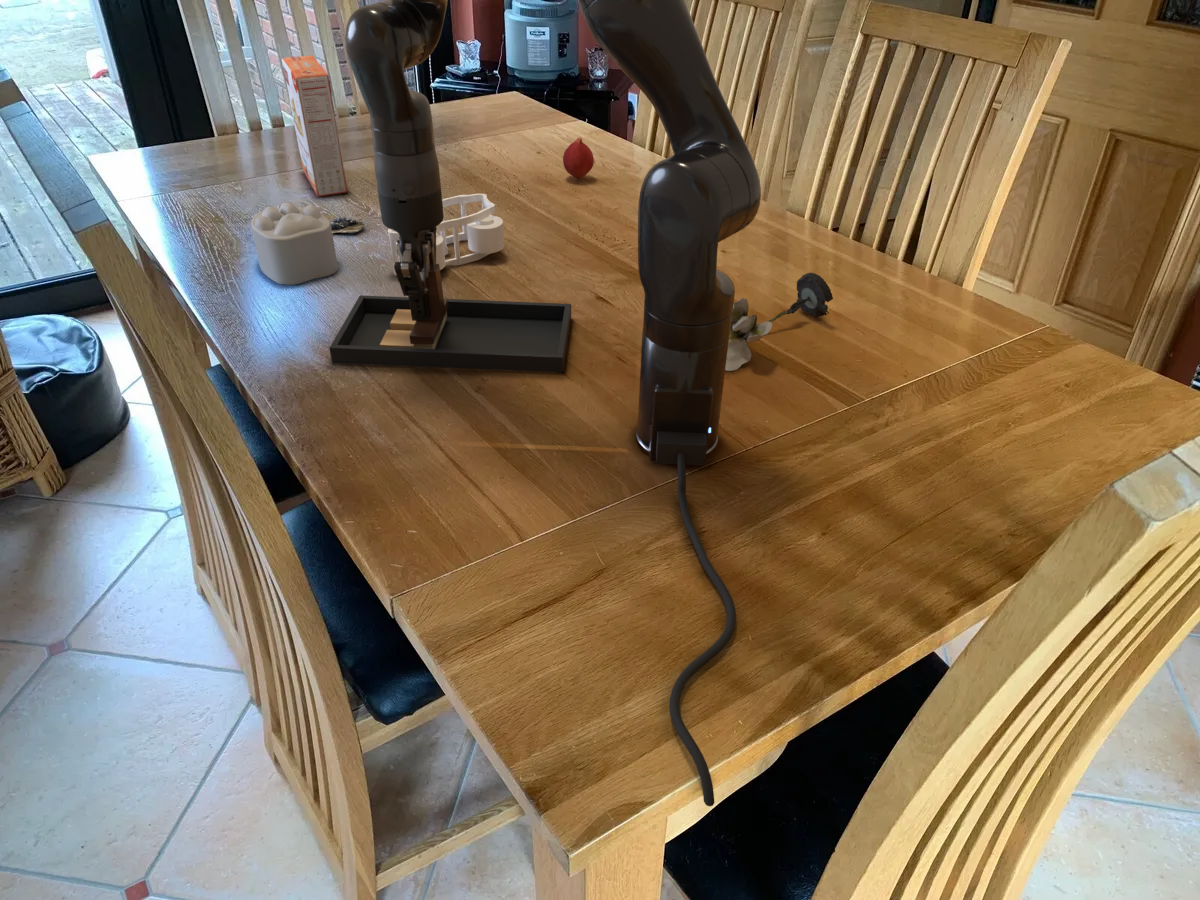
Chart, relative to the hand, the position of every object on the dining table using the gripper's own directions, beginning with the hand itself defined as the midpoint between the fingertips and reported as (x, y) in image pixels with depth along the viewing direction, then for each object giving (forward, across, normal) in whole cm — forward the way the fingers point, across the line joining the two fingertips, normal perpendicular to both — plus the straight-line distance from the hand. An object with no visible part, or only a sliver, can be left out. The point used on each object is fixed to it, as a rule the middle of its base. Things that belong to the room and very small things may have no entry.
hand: (424, 312), depth 117 cm
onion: (+5, -64, +16) cm, 66 cm away
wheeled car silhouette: (+4, -26, -2) cm, 26 cm away
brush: (+3, 0, +1) cm, 3 cm away
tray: (+4, 0, +4) cm, 6 cm away
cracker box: (+4, -57, -31) cm, 65 cm away
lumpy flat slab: (+4, -36, -22) cm, 42 cm away
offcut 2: (+4, +3, -3) cm, 6 cm away
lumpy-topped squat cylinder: (+4, -22, -25) cm, 34 cm away
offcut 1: (+4, -3, -3) cm, 5 cm away
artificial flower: (+5, -4, +46) cm, 46 cm away
